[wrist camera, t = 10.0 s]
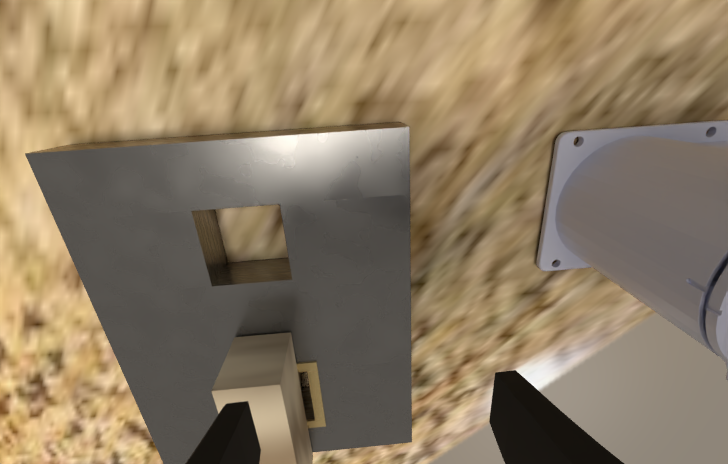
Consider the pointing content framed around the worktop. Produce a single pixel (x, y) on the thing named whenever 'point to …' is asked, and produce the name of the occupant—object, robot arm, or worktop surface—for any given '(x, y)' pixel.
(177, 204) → the charcoal cover panel
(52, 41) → the worktop surface
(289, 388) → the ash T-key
